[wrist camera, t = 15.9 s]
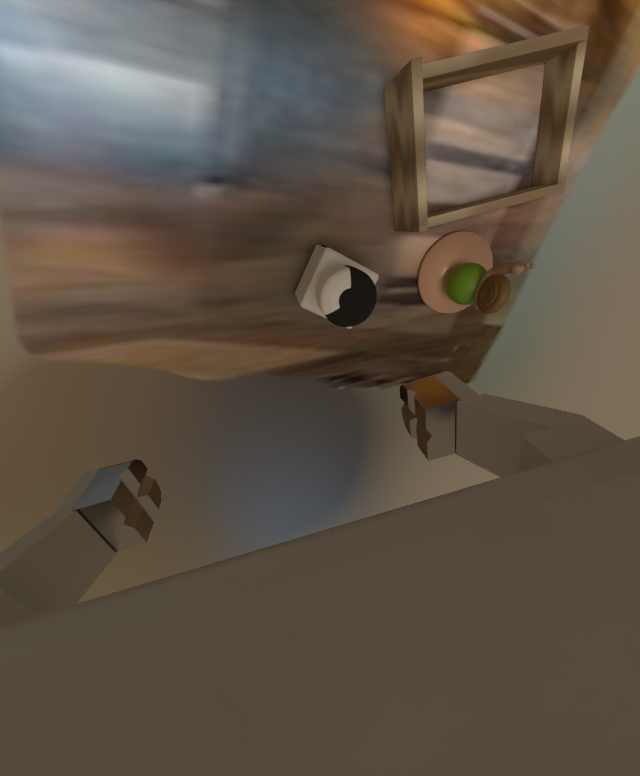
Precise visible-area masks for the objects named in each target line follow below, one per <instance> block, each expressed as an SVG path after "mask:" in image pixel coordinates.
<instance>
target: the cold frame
mask: <svg viewBox="0 0 640 776" xmlns="http://www.w3.org/2000/svg"><path fill="white" fill-rule="evenodd" d="M588 27H589V25H585V26H581V27H577V28H573V29H568V30H564V31H560V32H556V33H552V34H547V35H543V36H539V37H535V38H531V39H527V40H522V41H518V42H514V43H510V44H506V45H501V46H497V47H493V48H489V49H485V50H481V51H476V52H472V53H468V54H464V55H460V56H456V57H451V58H447V59H443V60H439V61H435V62H430V63H426V64H422V57H420V58H415V59H411V60H410V61H409V62H408V63H407V64H406V66H405V67H404V68H403V69H402V70H401V71H400V72H399V73H398V74H397V75H396V76H395V78H394V79H393V80H392V81H391V82H390V83H389V84H388V85H387V86H386V87H385V88H384V99H385V111H386V123H387V135H388V147H389V158H390V170H391V182H392V194H393V206H394V218H395V229H396V231H408V232H422V231H426V230H428V227H432V226H436V225H440V224H443V223H447V222H451V221H455V220H459V219H463V218H466V217H470V216H474V215H478V214H482V213H485V212H489V211H493V210H497V209H501V208H505V207H508V206H512V205H516V204H520V203H524V202H527V201H531V200H535V199H539V198H543V197H547V196H550V195H554V194H558V193H562V192H563V191H564V186H565V179H566V173H567V166H568V160H569V154H570V147H571V141H572V134H573V128H574V121H575V115H576V108H577V102H578V95H579V89H580V82H581V76H582V70H583V63H584V57H585V50H586V44H587V37H588V31H589V28H588ZM544 62H546V64H545V73H544V83H543V92H542V101H541V110H540V119H539V128H538V137H537V146H536V155H535V164H534V174H533V183H532V187H529V188H525V189H521V190H517V191H513V192H509V193H506V194H502V195H498V196H494V197H490V198H486V199H483V200H479V201H475V202H471V203H467V204H463V205H459V206H456V207H452V208H448V209H444V210H440V211H436V212H433V213H429V214H427V186H426V159H425V132H424V104H423V92H425V91H429V90H433V89H437V88H442V87H446V86H450V85H454V84H458V83H462V82H466V81H470V80H474V79H479V78H483V77H487V76H491V75H495V74H499V73H503V72H507V71H511V70H516V69H520V68H524V67H528V66H532V65H536V64H540V63H544Z"/></svg>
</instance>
